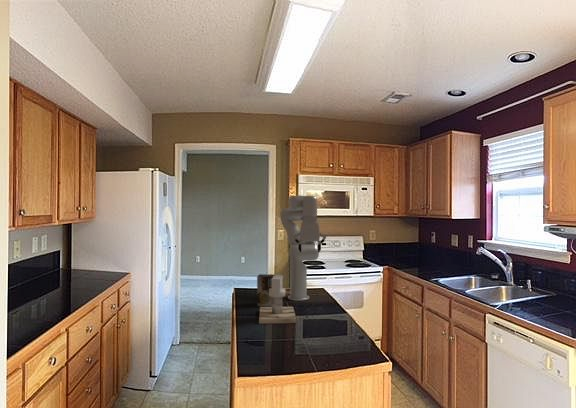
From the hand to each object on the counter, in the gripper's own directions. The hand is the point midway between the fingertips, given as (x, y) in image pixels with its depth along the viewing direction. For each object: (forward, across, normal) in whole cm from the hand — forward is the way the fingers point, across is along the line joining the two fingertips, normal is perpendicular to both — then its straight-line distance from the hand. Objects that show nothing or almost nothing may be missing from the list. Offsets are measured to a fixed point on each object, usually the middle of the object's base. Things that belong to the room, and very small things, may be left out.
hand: (309, 251), depth 183 cm
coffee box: (+30, -23, +8) cm, 39 cm away
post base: (+30, -17, -13) cm, 37 cm away
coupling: (+19, -15, -13) cm, 28 cm away
